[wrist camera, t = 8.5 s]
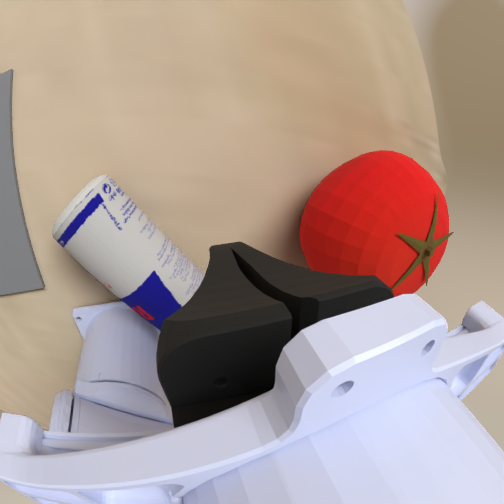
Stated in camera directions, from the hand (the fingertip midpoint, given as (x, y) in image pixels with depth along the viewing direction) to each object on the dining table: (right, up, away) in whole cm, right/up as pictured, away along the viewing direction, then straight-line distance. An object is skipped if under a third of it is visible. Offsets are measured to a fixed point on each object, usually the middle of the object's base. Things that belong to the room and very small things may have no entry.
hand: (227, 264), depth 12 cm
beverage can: (-11, +4, +3) cm, 12 cm away
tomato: (+9, +5, +14) cm, 17 cm away
